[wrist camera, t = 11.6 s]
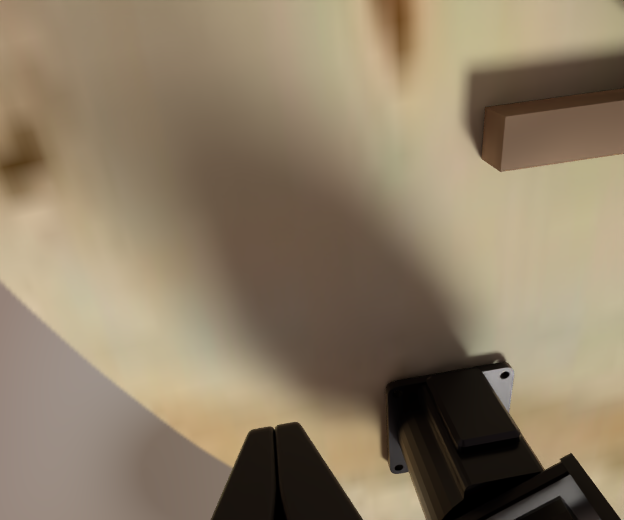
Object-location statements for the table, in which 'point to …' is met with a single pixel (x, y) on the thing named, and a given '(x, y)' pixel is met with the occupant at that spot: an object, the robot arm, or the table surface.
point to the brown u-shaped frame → (554, 130)
